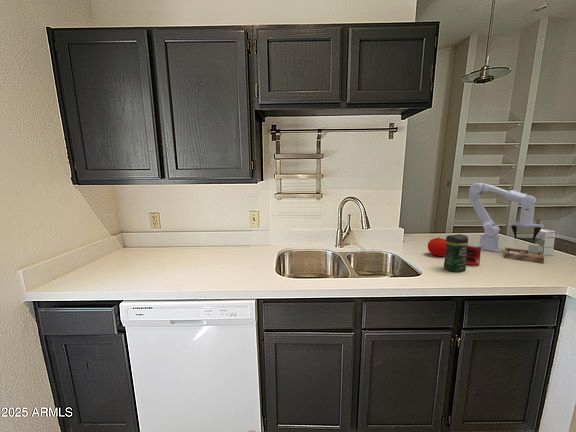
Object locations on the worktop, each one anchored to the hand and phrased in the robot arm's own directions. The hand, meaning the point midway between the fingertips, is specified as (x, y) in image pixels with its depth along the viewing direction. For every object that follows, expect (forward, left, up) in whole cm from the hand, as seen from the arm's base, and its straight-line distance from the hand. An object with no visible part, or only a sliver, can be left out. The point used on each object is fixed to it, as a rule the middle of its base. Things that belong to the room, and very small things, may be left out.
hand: (524, 239), depth 145 cm
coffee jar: (-26, -51, -10) cm, 58 cm away
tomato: (-38, -30, -10) cm, 49 cm away
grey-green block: (+4, -5, -9) cm, 11 cm away
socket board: (0, -7, -9) cm, 12 cm away
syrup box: (+9, +8, -10) cm, 15 cm away
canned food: (-21, -36, -10) cm, 43 cm away
